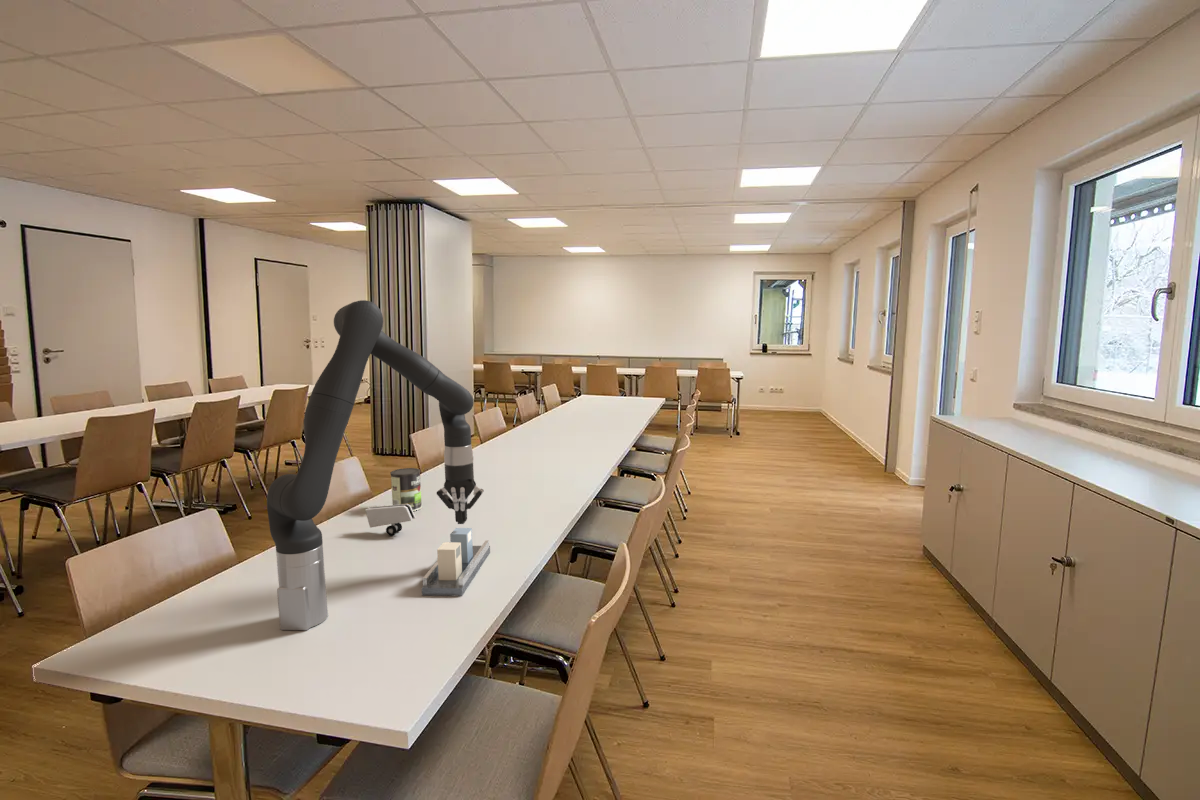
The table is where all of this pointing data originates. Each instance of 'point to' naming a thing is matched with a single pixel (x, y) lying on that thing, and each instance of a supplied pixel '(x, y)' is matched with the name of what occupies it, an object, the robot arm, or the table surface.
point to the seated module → (449, 561)
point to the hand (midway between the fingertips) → (461, 523)
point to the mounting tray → (459, 586)
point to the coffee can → (406, 487)
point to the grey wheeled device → (390, 516)
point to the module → (463, 542)
